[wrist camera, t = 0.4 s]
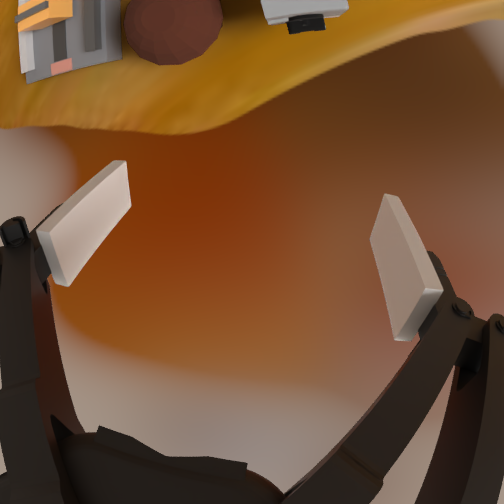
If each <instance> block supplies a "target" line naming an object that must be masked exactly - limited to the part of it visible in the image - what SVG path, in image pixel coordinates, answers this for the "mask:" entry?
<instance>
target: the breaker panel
mask: <svg viewBox="0 0 504 504" xmlns="http://www.w3.org/2000/svg"><path fill="white" fill-rule="evenodd" d="M28 1H30V0H19V6H21V5H22V4H24V3H26V2H28ZM72 12H73V17H71V18H68V19H65V20H63V21H60V22H58V23H55V24H53V25H50V26H48V27H45V28H43V29H38V30H30V31H24V32H19V50H20V63H21V74H22V73H26V81H27V84H29V83H32V82H36V81H39V80H42V79H45V78H48V77H51V76H55V75H58V74H61V73H65V72H69V71H72V70H76V69H80V68H84V67H88V66H92V65H96V64H101V63H106V62H110V61H115V60H121V59H122V47H121V17H120V0H72Z"/></svg>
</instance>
